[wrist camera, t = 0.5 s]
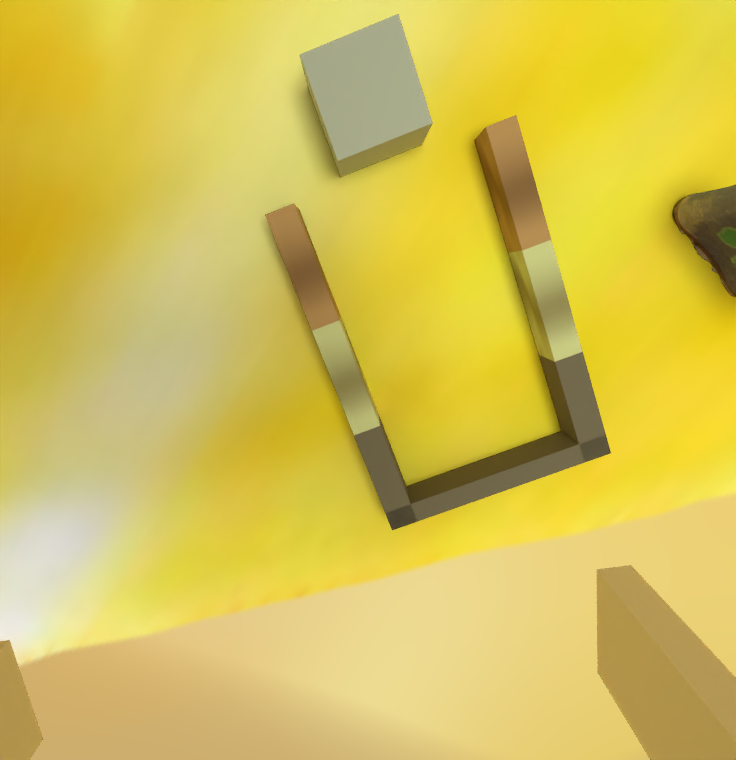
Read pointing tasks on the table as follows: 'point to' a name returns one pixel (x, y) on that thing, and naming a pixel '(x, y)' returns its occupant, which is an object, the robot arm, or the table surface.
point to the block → (367, 95)
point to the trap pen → (501, 470)
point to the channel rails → (525, 249)
